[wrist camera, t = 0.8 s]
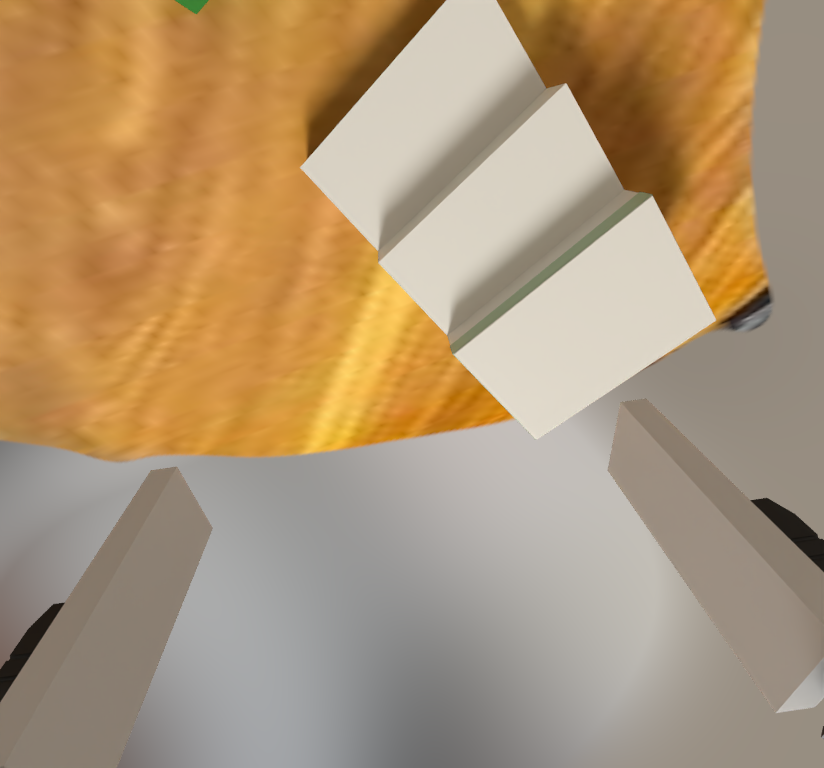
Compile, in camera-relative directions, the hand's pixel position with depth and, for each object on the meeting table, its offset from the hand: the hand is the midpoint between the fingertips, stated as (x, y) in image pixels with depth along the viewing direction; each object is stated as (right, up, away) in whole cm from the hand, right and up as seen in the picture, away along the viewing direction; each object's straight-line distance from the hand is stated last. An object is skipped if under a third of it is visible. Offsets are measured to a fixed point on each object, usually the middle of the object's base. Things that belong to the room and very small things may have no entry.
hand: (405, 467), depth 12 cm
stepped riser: (+6, +15, +19) cm, 24 cm away
